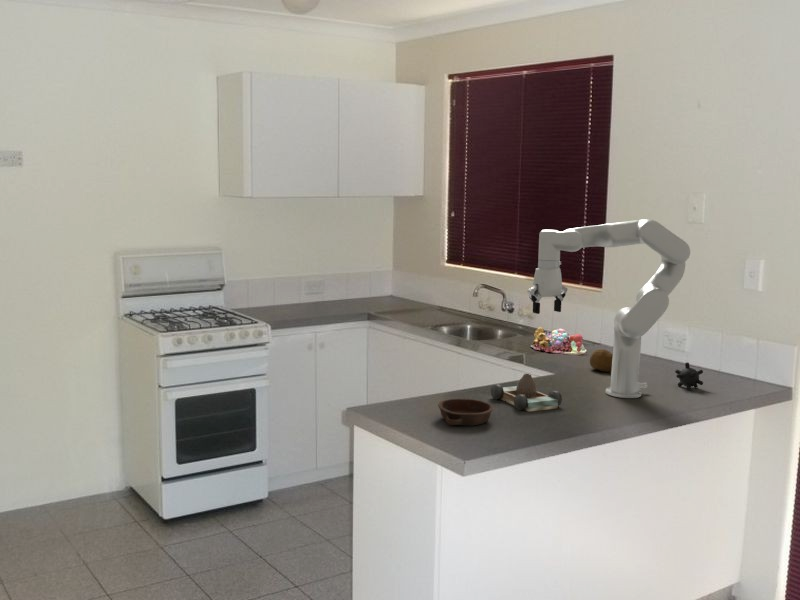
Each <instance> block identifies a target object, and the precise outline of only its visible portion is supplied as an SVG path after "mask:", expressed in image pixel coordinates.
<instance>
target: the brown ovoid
mask: <svg viewBox="0 0 800 600" xmlns="http://www.w3.org/2000/svg"><path fill="white" fill-rule="evenodd" d="M516 386H517V387H516V392H517V395H521V394H524V395H525V396H526V397H527V398H534V397H535V395H536V392H537V390H538V386H537V383H536V381H535V380H534V378H533V377H532V374H531V373H524V374H523V375H522V377H520V379H519V380H518V381H517V384H516Z"/></svg>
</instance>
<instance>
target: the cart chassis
mask: <svg viewBox="0 0 800 600" xmlns="http://www.w3.org/2000/svg"><path fill="white" fill-rule="evenodd" d="M516 387H517V385H516V386H504V387H503V386H502V385H501V384H492V385H491V388H490V395H491V398H492V399H494V400H500V401H501V400H502V401H503V402H505V401H506V403H508V404H510V405H512V406H514V407H515V409H516V410H518V411H527V412H529V413H530V412H537V411H544V410H545V411H546V410H553V409H559V408H558V406H560V405H561V404H562V403H563V402H562V401H563V398H562V394H561V392H560V391H558V390H552V391H549V392H548V395H547V394H545V393H542V392H540V391H537V392H536V395H535V397H534V398H527V397H526V396H525V395H524V394H521V395H517V392H516Z"/></svg>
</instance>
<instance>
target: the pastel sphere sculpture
mask: <svg viewBox="0 0 800 600" xmlns="http://www.w3.org/2000/svg"><path fill="white" fill-rule="evenodd" d="M544 330H545V328H544V327H538V328H536V330H535V332H534V333H533V335H534V340H533V342H532V344H531V345H530V347H531V348H533V349H534V350H536V351H537V350H538V351H539V352H541V351H543V352H545V353H553V354H561V355H572V356H573V355H574V356H579V355H581V356H582V355H584V354H586V352H587V349H586V348H585V345H584V344H583V343H582V342H583V340H584V338H583V335H582V334H578V333H577V334H571V335H570V334H569V333H568V332H566V330H565V329H564V328H558V329H555V330H552V331H551V333H550V331H549V330H547V331H545V332H544Z"/></svg>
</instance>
